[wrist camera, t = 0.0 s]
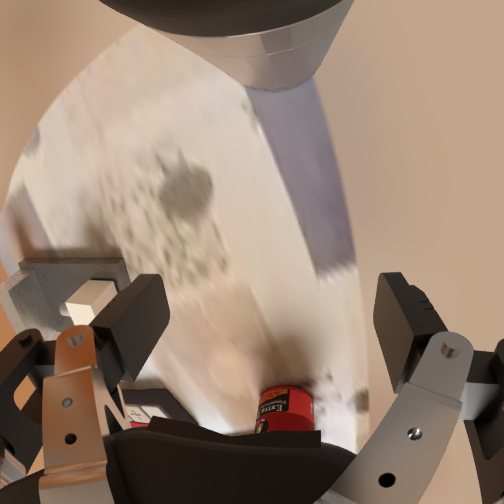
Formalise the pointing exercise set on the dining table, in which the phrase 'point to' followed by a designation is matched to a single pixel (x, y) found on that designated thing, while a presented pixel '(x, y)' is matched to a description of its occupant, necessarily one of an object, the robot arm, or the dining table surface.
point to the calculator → (153, 406)
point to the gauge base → (53, 290)
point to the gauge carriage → (88, 301)
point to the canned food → (285, 410)
